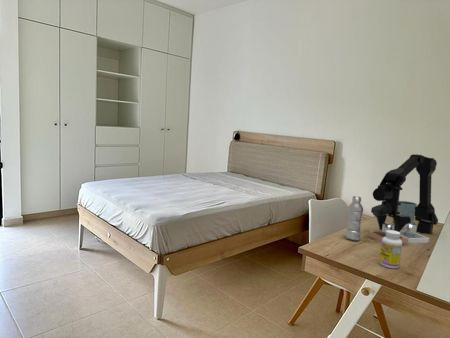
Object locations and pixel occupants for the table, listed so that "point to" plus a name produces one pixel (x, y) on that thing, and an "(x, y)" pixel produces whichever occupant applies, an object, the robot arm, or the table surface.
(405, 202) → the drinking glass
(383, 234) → the steel billet
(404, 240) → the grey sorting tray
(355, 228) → the plastic bottle
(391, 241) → the supplement bottle
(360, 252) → the table surface
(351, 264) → the table surface
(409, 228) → the billet
